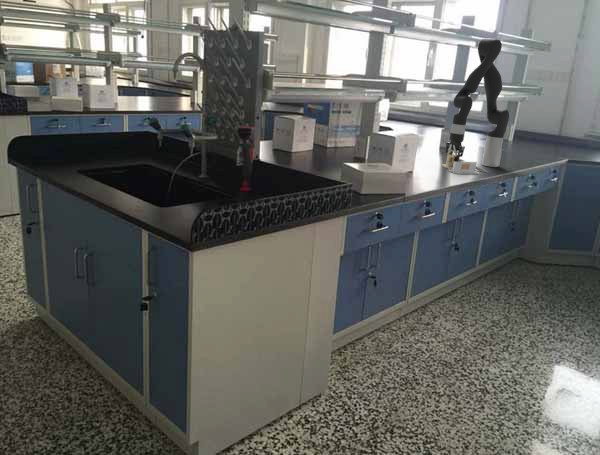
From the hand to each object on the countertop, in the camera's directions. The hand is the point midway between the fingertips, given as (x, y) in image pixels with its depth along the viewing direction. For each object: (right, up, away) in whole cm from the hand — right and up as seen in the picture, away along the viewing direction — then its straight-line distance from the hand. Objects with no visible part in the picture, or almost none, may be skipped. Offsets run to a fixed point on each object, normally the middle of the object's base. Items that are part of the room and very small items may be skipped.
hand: (452, 162), depth 296 cm
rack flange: (+3, -7, -10) cm, 12 cm away
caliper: (+11, -4, +1) cm, 11 cm away
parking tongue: (0, -3, +1) cm, 3 cm away
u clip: (0, 0, 0) cm, 0 cm away
